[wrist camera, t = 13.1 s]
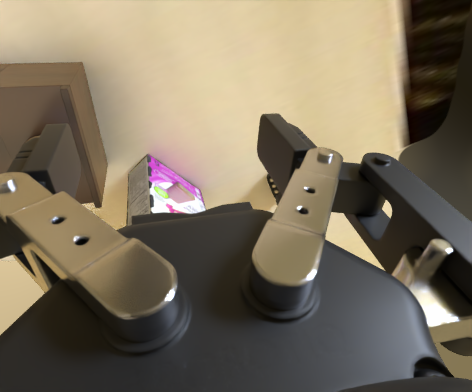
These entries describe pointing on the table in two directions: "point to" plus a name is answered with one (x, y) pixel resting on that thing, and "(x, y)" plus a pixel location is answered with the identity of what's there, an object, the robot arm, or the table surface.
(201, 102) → the table surface
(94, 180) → the shelf
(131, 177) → the candy bar box
